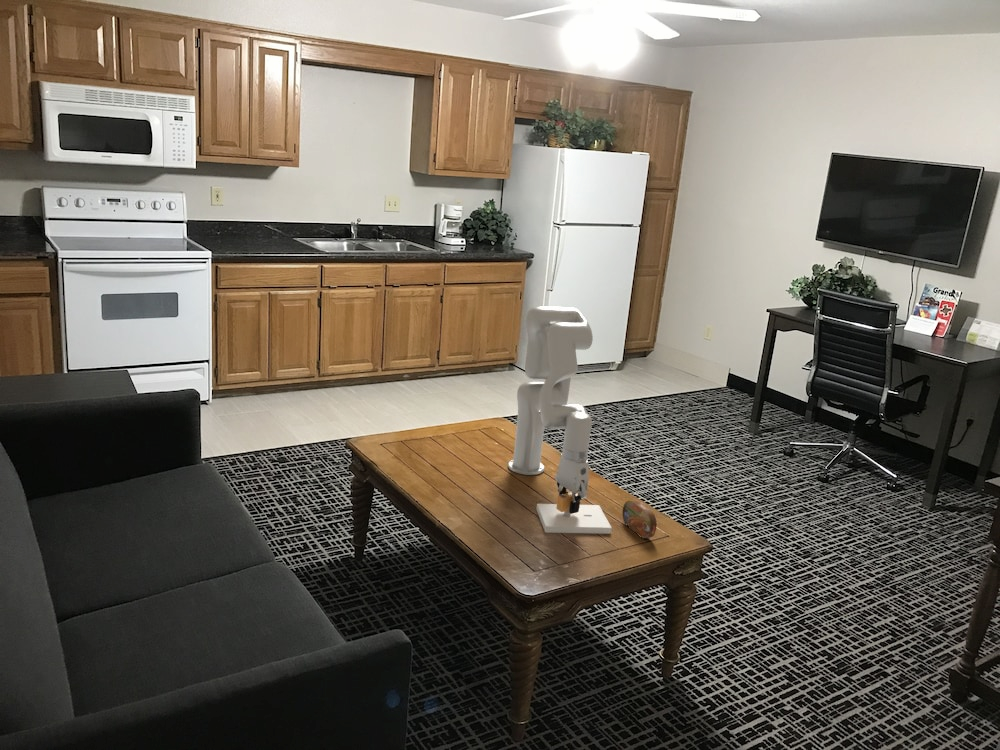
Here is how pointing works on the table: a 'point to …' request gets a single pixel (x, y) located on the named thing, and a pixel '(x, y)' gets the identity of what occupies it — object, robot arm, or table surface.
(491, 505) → the table surface
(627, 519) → the tin
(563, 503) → the orange block on post
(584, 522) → the base plate
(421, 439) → the table surface
